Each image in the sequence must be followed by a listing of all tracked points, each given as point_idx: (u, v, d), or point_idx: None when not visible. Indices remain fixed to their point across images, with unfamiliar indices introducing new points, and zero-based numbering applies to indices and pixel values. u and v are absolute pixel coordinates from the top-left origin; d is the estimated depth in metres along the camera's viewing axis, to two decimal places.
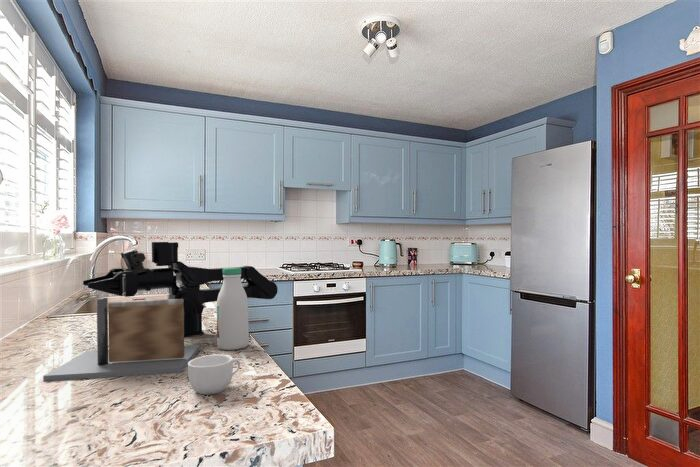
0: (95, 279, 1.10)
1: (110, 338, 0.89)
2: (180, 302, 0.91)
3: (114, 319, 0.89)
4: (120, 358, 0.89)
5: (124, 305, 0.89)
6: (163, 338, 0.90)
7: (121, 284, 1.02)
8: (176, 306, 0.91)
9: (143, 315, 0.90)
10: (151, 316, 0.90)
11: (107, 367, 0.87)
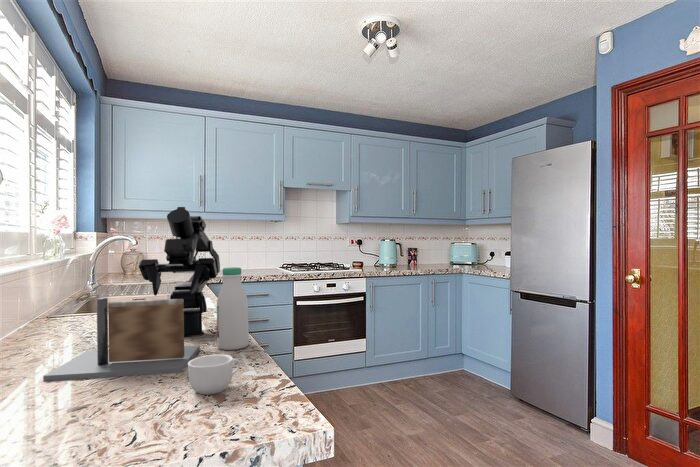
0: (156, 284, 1.06)
1: (110, 338, 0.89)
2: (180, 302, 0.91)
3: (114, 319, 0.89)
4: (120, 358, 0.89)
5: (124, 305, 0.89)
6: (163, 338, 0.90)
7: (208, 273, 1.11)
8: (176, 306, 0.91)
9: (143, 315, 0.90)
10: (151, 316, 0.90)
11: (107, 367, 0.87)
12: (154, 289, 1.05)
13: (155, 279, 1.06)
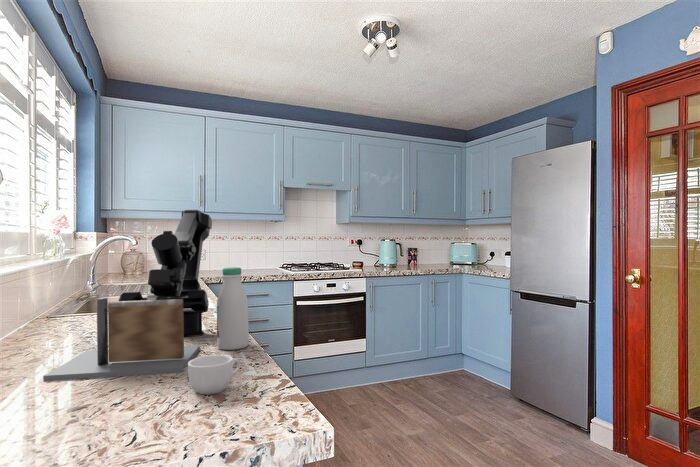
0: None
1: (110, 338, 0.89)
2: (180, 302, 0.91)
3: (114, 319, 0.89)
4: (120, 358, 0.89)
5: (124, 305, 0.89)
6: (163, 338, 0.90)
7: None
8: (176, 306, 0.90)
9: (143, 315, 0.90)
10: (151, 316, 0.90)
11: (107, 367, 0.87)
12: None
13: None
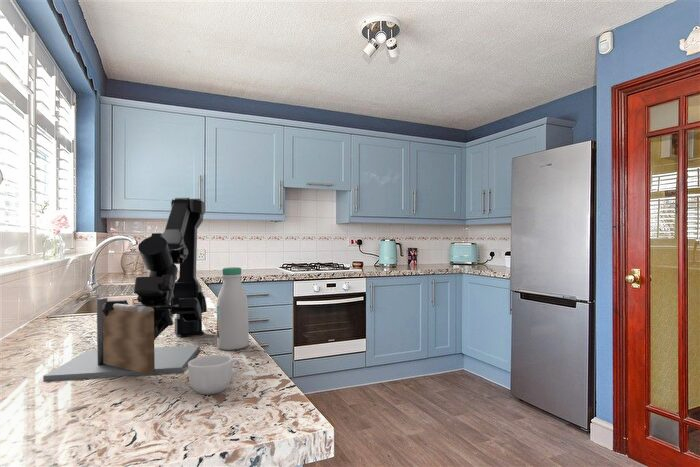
0: None
1: (104, 339, 0.88)
2: (145, 311, 0.80)
3: (106, 321, 0.87)
4: (109, 361, 0.87)
5: None
6: (135, 348, 0.82)
7: (170, 317, 0.89)
8: (143, 315, 0.81)
9: (122, 320, 0.84)
10: (127, 322, 0.84)
11: (107, 367, 0.87)
12: None
13: None
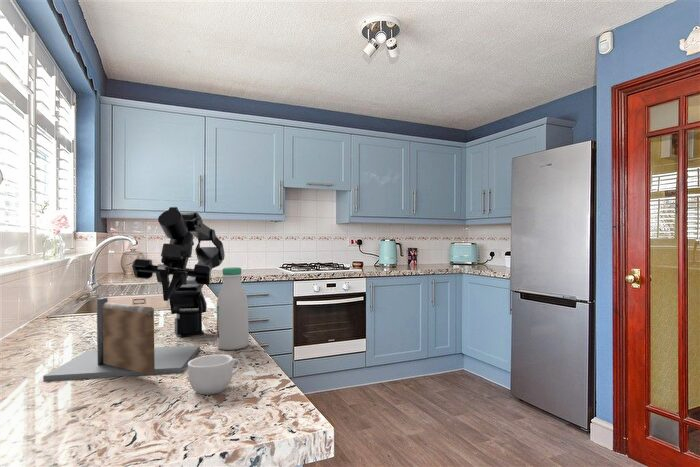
0: (166, 289, 1.05)
1: (104, 339, 0.88)
2: (145, 311, 0.80)
3: (106, 321, 0.87)
4: (109, 361, 0.87)
5: (111, 307, 0.86)
6: (135, 348, 0.82)
7: (186, 278, 1.09)
8: (143, 315, 0.81)
9: (122, 320, 0.84)
10: (127, 322, 0.84)
11: (107, 367, 0.87)
12: (164, 294, 1.04)
13: (166, 283, 1.05)
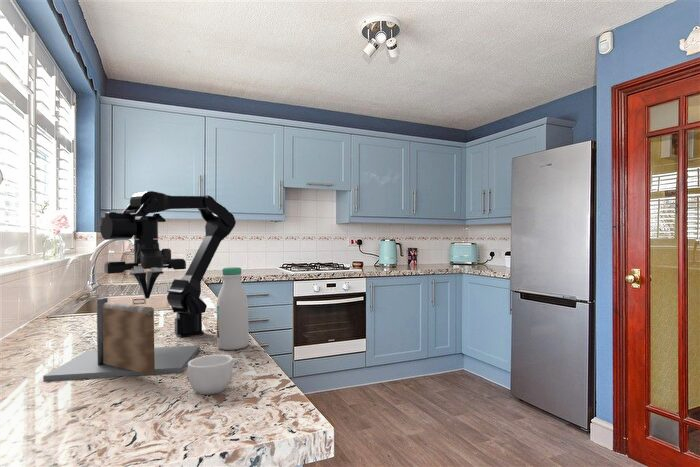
0: None
1: (104, 339, 0.88)
2: (145, 311, 0.80)
3: (106, 321, 0.87)
4: (109, 361, 0.87)
5: (111, 307, 0.86)
6: (135, 348, 0.82)
7: None
8: (143, 315, 0.81)
9: (122, 320, 0.84)
10: (127, 322, 0.84)
11: (107, 367, 0.87)
12: (146, 294, 1.09)
13: (145, 284, 1.08)
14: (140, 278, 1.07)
